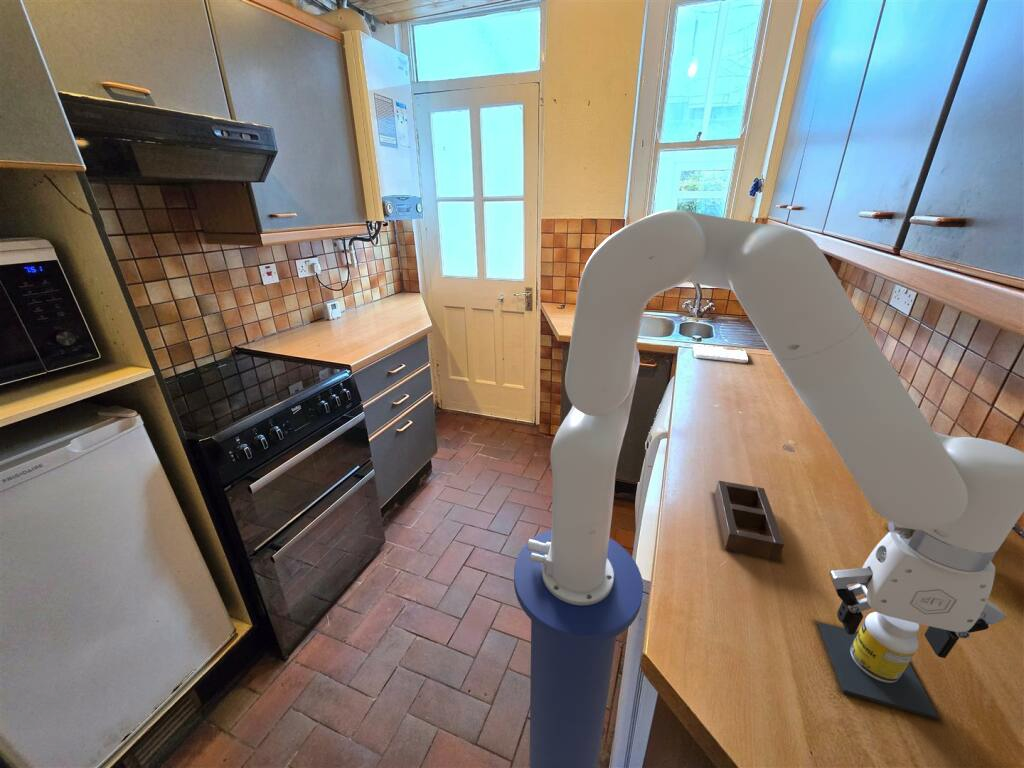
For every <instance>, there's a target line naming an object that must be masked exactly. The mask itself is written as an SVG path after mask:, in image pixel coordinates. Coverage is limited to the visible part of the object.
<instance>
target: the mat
mask: <svg viewBox="0 0 1024 768" xmlns="http://www.w3.org/2000/svg"><path fill="white" fill-rule="evenodd" d="M817 627H818V629H819V632H820V635H821V638H822V640H823V643H824V646H825V649H826V651H827V654H828V656H829V659H830V662H831V664H832V667H833V669H834V673H835V675H836V677H837V681H838V683H839V686H840V688H841V691H842V693H843V694H846V695H850V696H854V697H856V698H860V699H864V700H868V701H871V702H875V703H878V704H882V705H884V706H888V707H892V708H896V709H899V710H902V711H907V712H909V713H913V714H917V715H920V716H923V717H926V718H930V719H934V720H937V719H938V718H939V715H938V714H937V711H936V710H935V707H934V706H933V704H932V702H931V700H930V699H929V696H928V694H927V693H926V691H925V689H924V687H923V686H922V683H921V681H920V680H919V678H918V676H917V674H916V673H915V671H914V669H913V667H912V665H911V663H910V662H909V664H908V665H907V667H906V669H905V670H904V672H903V673H902V675H901V677H900V678H899V679H898V680H897V681H896V682H892V683H887V682H882V681H879V680H877V679H875V678H873V677H871V676H869V675H868V674H866V673H865V672H864V671H863V670H862V669H860V668H859V666H858V665H857V664H856V663H855V661H854V660H853V658H852V656H851V651H850V650H851V646H852V644H853V642H854V640H855V638H856V636H857V634H858V632H859V631H856V632H855V634H853V635H850V634H847V633H846V631H845V628H844V627H839V626H836V625H832V624H828V623H824V622H817Z"/></svg>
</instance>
